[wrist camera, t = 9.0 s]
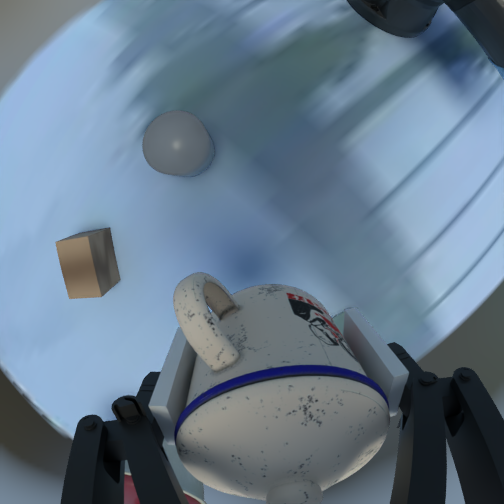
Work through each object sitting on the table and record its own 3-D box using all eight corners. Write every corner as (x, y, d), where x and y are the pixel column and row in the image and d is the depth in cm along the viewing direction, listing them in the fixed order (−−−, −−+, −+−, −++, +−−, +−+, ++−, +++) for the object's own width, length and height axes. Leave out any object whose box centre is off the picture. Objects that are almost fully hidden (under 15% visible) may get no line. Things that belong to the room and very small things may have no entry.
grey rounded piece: (162, 132, 30) (140, 117, 22) (212, 123, 30) (203, 105, 22) (167, 180, 31) (145, 179, 23) (217, 173, 31) (210, 169, 24)
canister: (196, 390, 38) (178, 508, 18) (224, 453, 43) (222, 544, 22) (100, 392, 38) (53, 482, 18) (140, 453, 43) (119, 532, 22)
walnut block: (79, 232, 32) (55, 242, 26) (110, 227, 32) (87, 236, 26) (90, 282, 34) (69, 298, 28) (120, 279, 34) (101, 296, 28)
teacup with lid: (354, 353, 18) (428, 482, 7) (246, 408, 19) (253, 544, 8) (269, 205, 15) (347, 275, 4) (142, 287, 16) (37, 425, 5)
